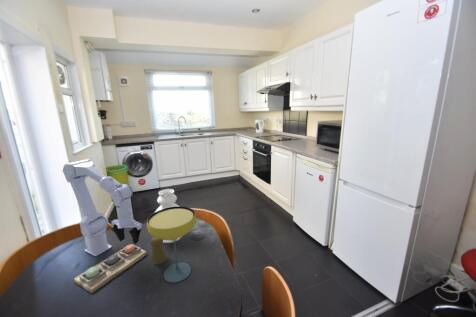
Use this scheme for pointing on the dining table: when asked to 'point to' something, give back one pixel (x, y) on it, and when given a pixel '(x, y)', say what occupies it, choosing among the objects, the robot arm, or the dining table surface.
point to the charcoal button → (112, 260)
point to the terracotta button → (129, 249)
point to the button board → (110, 269)
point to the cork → (157, 251)
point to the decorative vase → (167, 204)
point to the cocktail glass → (173, 235)
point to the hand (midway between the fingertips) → (129, 241)
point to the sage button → (92, 272)
